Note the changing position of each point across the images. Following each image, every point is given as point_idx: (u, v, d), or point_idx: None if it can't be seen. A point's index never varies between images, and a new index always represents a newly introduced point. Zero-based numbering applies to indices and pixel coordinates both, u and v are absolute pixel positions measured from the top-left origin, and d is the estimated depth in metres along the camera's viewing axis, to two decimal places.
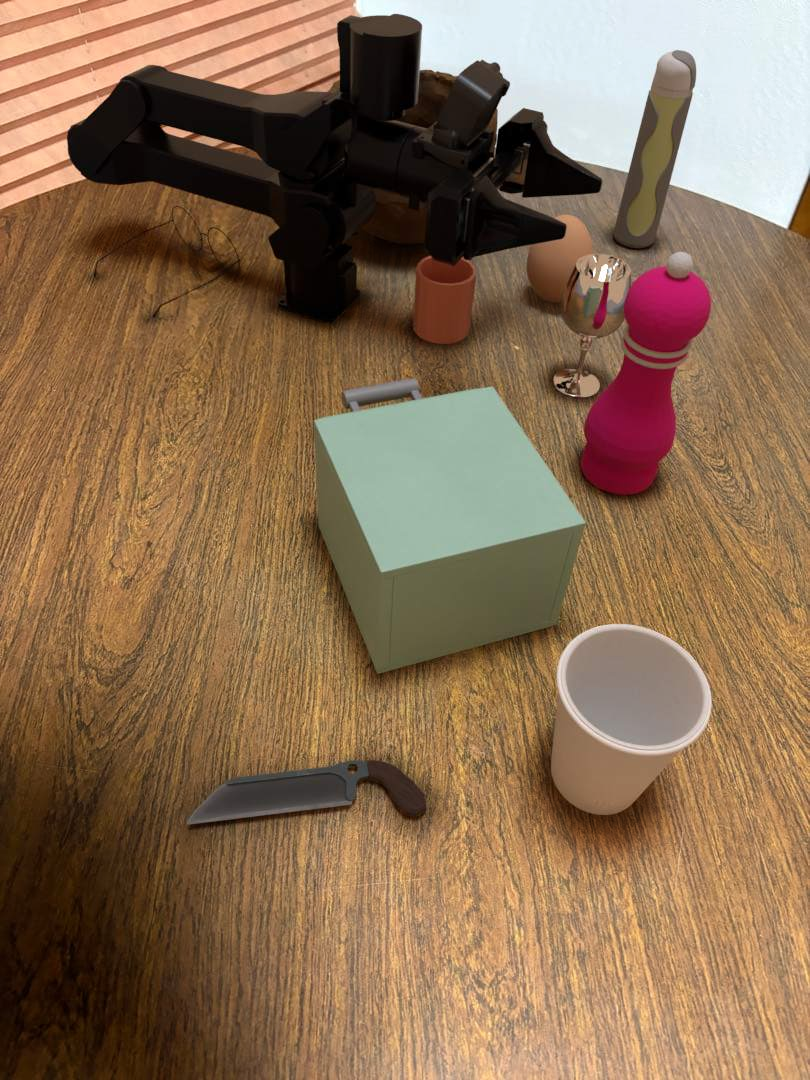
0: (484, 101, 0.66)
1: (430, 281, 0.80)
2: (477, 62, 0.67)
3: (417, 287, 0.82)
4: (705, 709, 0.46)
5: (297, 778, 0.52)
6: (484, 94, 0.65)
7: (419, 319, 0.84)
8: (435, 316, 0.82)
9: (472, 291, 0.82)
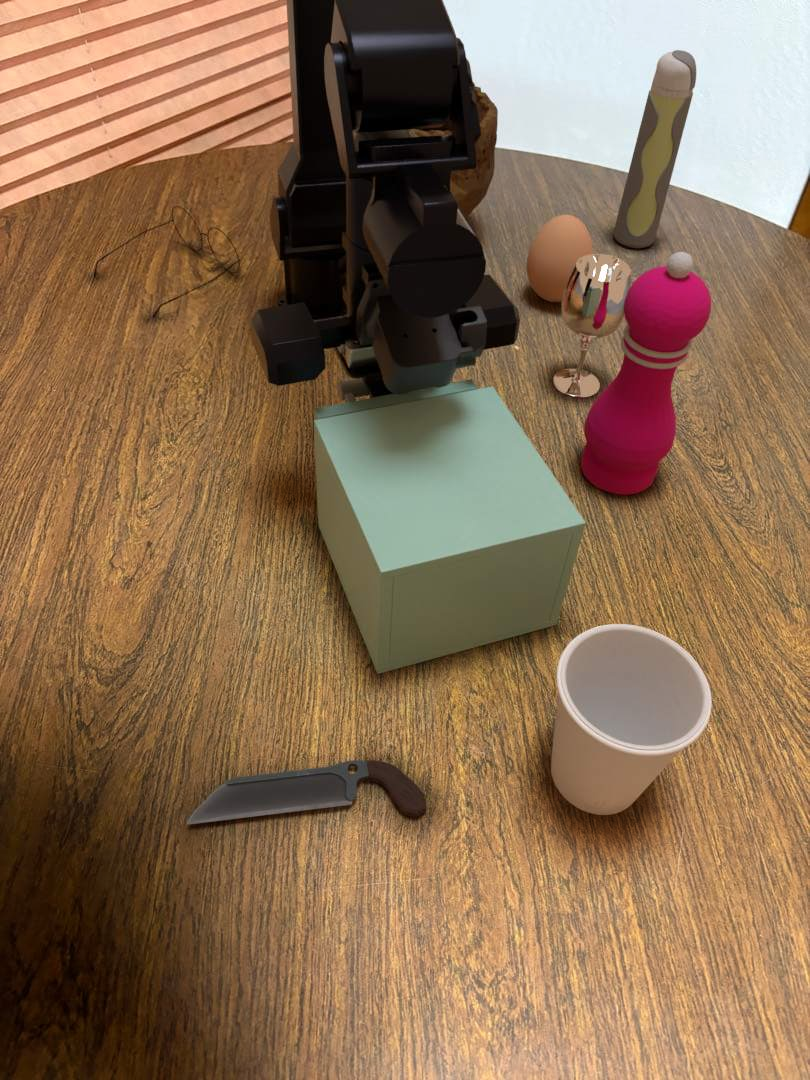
0: (389, 387, 0.56)
1: None
2: (449, 362, 0.55)
3: None
4: (705, 709, 0.46)
5: (297, 778, 0.52)
6: (395, 388, 0.56)
7: None
8: None
9: None
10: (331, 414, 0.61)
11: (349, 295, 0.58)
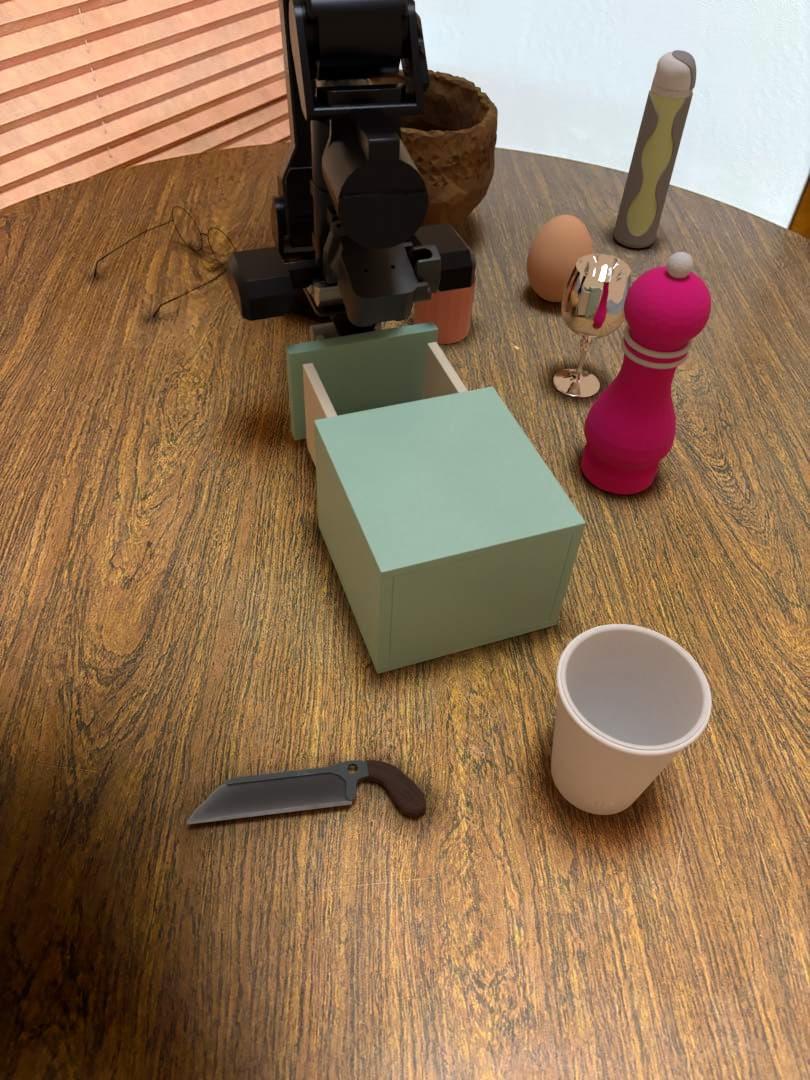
0: (352, 320, 0.61)
1: None
2: (406, 295, 0.60)
3: None
4: (705, 709, 0.46)
5: (297, 778, 0.52)
6: (357, 320, 0.61)
7: (419, 319, 0.84)
8: (435, 316, 0.82)
9: (472, 291, 0.82)
10: (301, 350, 0.66)
11: (316, 238, 0.64)
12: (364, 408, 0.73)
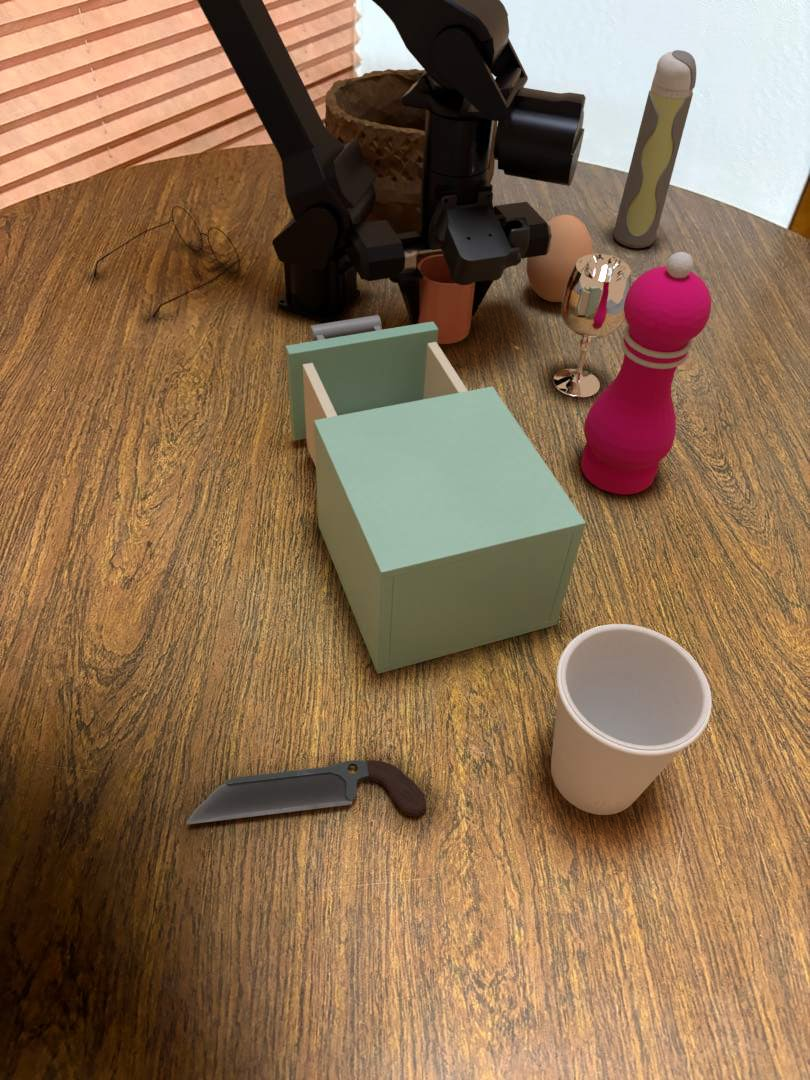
0: (455, 279, 0.74)
1: (430, 281, 0.80)
2: (501, 258, 0.73)
3: None
4: (705, 709, 0.46)
5: (297, 778, 0.52)
6: (460, 279, 0.74)
7: (419, 319, 0.84)
8: (435, 316, 0.82)
9: (472, 291, 0.82)
10: (301, 350, 0.66)
11: (423, 212, 0.76)
12: (364, 408, 0.73)
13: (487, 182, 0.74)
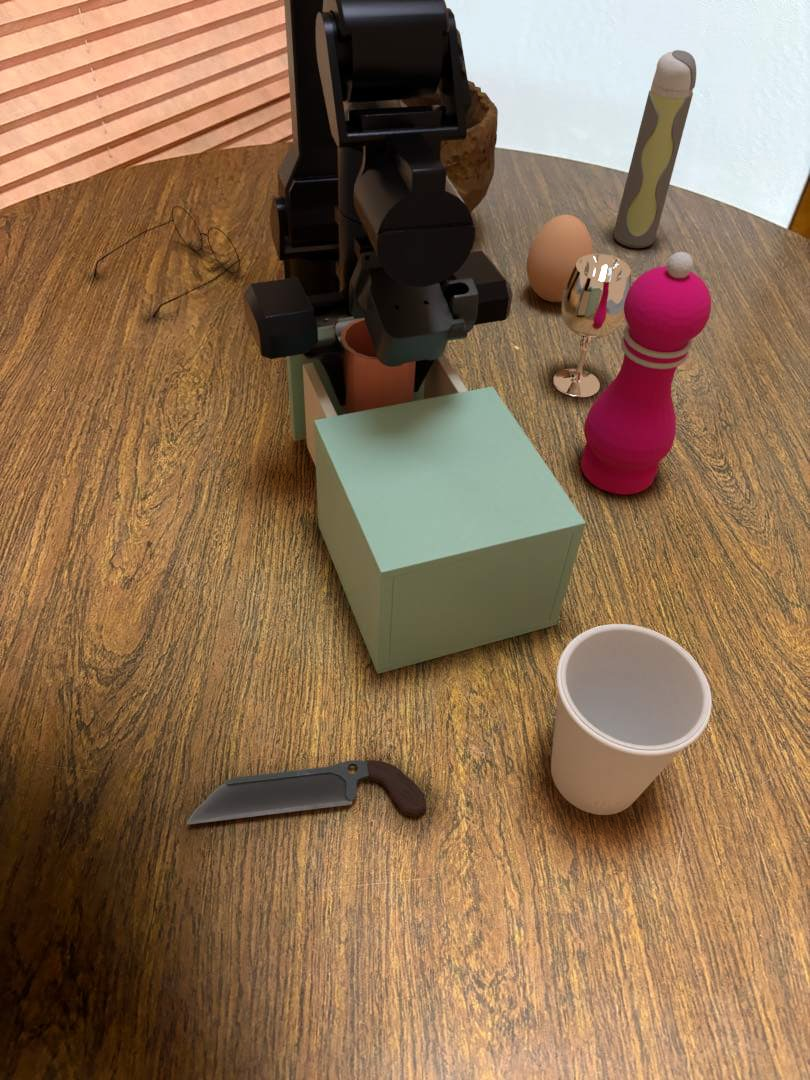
0: (381, 359, 0.57)
1: (356, 354, 0.62)
2: (440, 333, 0.55)
3: (342, 360, 0.64)
4: (705, 709, 0.46)
5: (297, 778, 0.52)
6: (387, 360, 0.56)
7: (347, 398, 0.66)
8: (365, 396, 0.65)
9: (412, 365, 0.64)
10: None
11: (342, 269, 0.59)
12: None
13: None
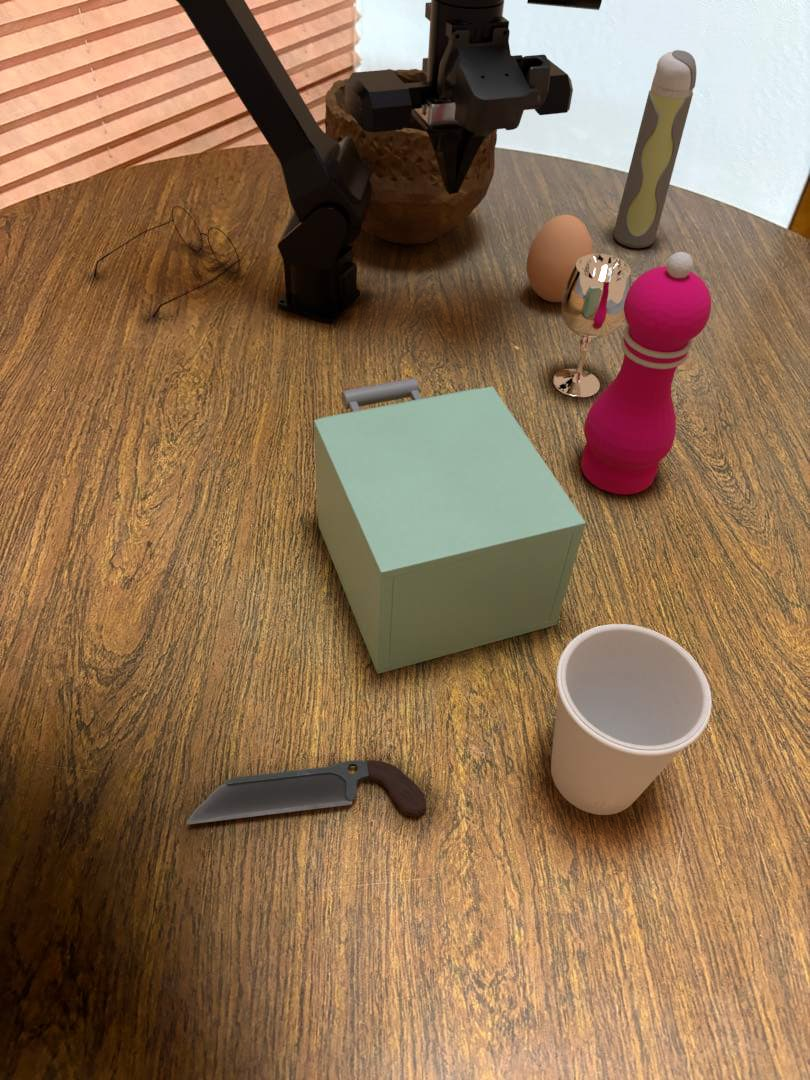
0: (467, 126, 0.67)
1: None
2: (519, 98, 0.66)
3: None
4: (705, 709, 0.46)
5: (297, 778, 0.52)
6: (473, 126, 0.67)
7: None
8: None
9: None
10: None
11: (431, 56, 0.69)
12: None
13: (503, 18, 0.67)
